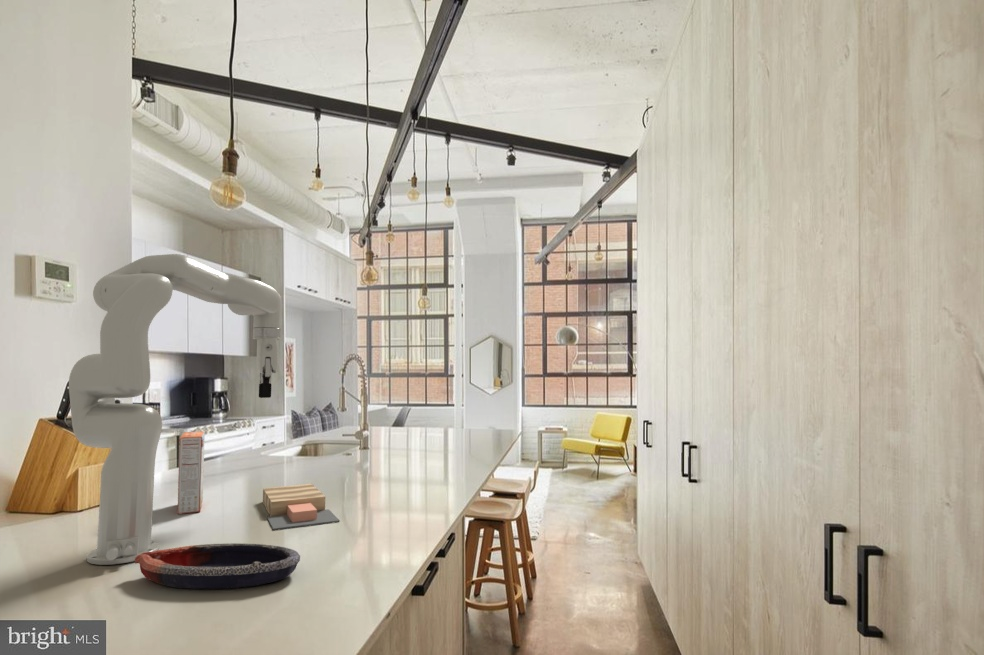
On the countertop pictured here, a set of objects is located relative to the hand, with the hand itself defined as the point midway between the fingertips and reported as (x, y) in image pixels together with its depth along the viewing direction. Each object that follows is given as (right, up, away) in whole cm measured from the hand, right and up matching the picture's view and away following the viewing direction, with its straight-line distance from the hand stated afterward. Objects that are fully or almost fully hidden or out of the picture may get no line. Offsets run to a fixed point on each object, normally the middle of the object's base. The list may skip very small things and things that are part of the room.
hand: (264, 397), depth 161 cm
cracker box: (-20, -31, -4) cm, 37 cm away
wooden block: (+9, -31, -2) cm, 32 cm away
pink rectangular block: (+16, -30, -15) cm, 37 cm away
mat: (+17, -30, -17) cm, 38 cm away
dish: (+15, -27, -57) cm, 65 cm away
